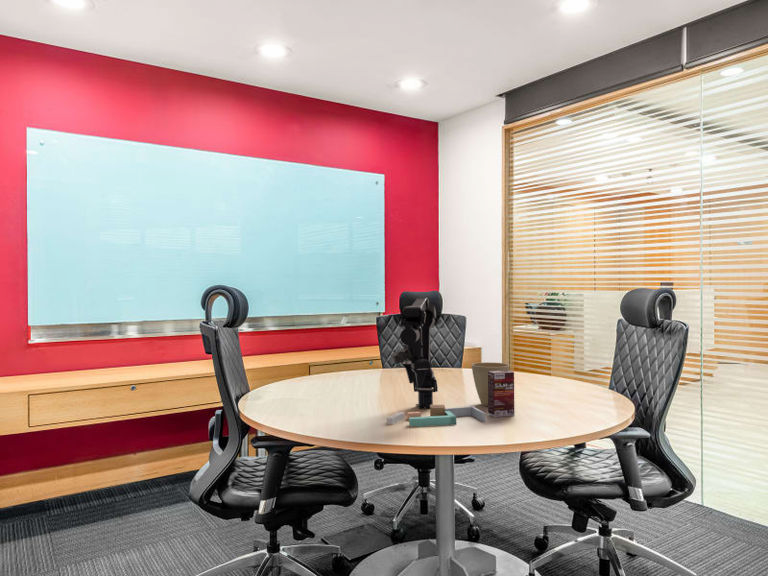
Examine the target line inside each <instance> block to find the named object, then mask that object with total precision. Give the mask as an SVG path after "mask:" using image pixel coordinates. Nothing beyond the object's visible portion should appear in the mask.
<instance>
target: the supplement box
mask: <svg viewBox="0 0 768 576" xmlns="http://www.w3.org/2000/svg"><path fill="white" fill-rule="evenodd" d="M487 414H488V415H489V416H490V417H492V418H499V417H510V416H511V417H512V416H515V371H511V370H509V371H491V372H488V406H487Z"/></svg>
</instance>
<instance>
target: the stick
mask: <svg viewBox="0 0 768 576" xmlns="http://www.w3.org/2000/svg"><path fill="white" fill-rule="evenodd" d="M405 415H406V414H405V412H403V411H398V412H396V413H394V414H391V416H387V418H386V425H390V424H393V425H395V424H397V423H398V421H399V422H400V420H401V421H403V420H404V419H405ZM396 422H397V423H396ZM394 423H395V424H394Z"/></svg>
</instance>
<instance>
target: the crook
mask: <svg viewBox="0 0 768 576" xmlns="http://www.w3.org/2000/svg"><path fill="white" fill-rule="evenodd" d="M451 424H455V425H457V417H456V416H455V415H454V414H453V413H451V412H450V411H445V416H421V417H409V420H408V426H409V425H410V426H417V427H430V426H429V425H436V426H449V425H450V426H451ZM410 426H409V427H410Z"/></svg>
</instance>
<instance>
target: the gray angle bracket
mask: <svg viewBox="0 0 768 576" xmlns="http://www.w3.org/2000/svg"><path fill="white" fill-rule="evenodd" d="M445 411H450V412H451V413H453V414H454V415H455V416H456V418H458V417H468V416H470V417H471V416H472V417H474V418H475V417H476V419H477V420H479V421H481V422H482V421H483V422H486V412H484V411H482V410H481V409H479V408H476V407H475V406H473V405H469V406H461V407H447V408H446V407H445Z"/></svg>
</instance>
